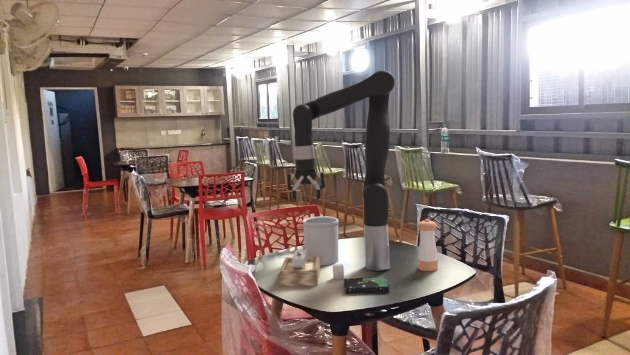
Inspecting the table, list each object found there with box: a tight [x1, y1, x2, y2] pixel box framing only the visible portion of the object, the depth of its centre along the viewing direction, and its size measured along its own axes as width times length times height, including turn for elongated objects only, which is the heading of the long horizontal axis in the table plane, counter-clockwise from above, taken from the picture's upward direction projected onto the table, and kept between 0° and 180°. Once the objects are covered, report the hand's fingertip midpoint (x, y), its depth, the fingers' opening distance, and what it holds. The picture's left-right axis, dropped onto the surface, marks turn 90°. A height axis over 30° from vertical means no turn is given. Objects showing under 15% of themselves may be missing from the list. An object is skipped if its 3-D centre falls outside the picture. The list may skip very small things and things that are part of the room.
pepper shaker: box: [417, 218, 439, 272], centre depth 182 cm, size 7×7×19 cm
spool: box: [332, 263, 345, 281], centre depth 176 cm, size 4×4×5 cm
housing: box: [292, 249, 308, 270], centre depth 179 cm, size 12×4×6 cm, turn 176°
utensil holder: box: [302, 215, 339, 267], centre depth 199 cm, size 15×15×18 cm
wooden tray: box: [279, 256, 321, 287], centre depth 179 cm, size 13×17×6 cm
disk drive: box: [343, 276, 390, 296], centre depth 165 cm, size 10×3×15 cm
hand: (307, 199), depth 184 cm, fingers open, 8 cm apart
